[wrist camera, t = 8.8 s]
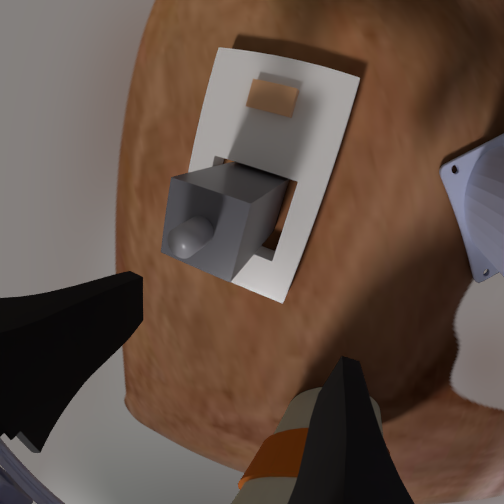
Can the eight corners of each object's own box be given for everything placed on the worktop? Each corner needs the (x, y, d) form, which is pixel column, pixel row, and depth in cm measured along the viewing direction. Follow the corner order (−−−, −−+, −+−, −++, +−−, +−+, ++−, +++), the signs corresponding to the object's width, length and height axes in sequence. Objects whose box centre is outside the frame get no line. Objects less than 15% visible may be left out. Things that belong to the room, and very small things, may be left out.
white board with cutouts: (229, 53, 14) (214, 44, 13) (359, 83, 13) (360, 75, 11) (185, 249, 21) (169, 260, 19) (287, 292, 19) (280, 308, 17)
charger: (235, 161, 17) (148, 183, 10) (289, 178, 16) (235, 214, 9) (223, 212, 19) (140, 265, 11) (273, 231, 18) (214, 300, 11)
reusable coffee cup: (246, 383, 24) (170, 522, 11) (385, 356, 19) (370, 556, 6) (297, 450, 27) (256, 559, 14) (406, 435, 21) (393, 566, 8)
